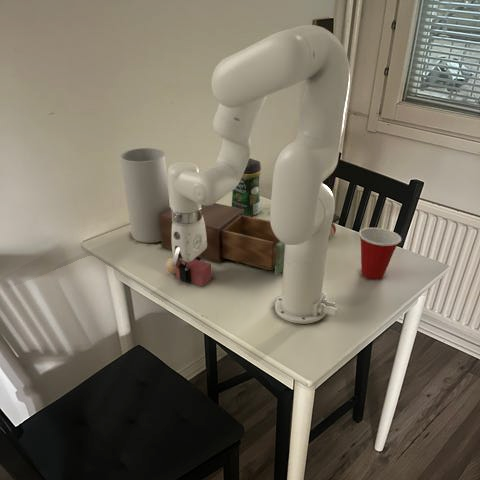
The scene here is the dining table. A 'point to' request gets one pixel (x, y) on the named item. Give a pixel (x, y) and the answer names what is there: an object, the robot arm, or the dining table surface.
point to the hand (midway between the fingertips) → (191, 276)
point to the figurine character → (333, 227)
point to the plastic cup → (377, 251)
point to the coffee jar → (248, 189)
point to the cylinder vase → (145, 191)
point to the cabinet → (214, 222)
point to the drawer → (252, 243)
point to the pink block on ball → (193, 271)
